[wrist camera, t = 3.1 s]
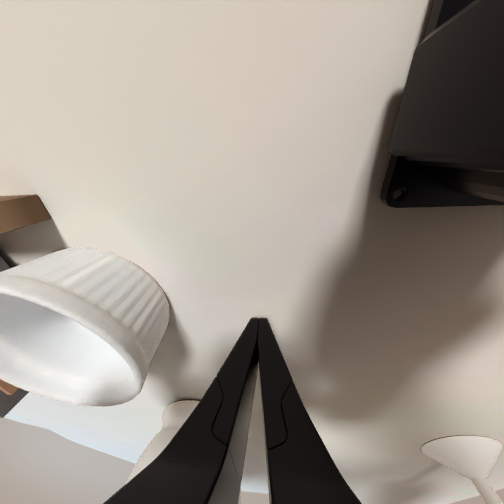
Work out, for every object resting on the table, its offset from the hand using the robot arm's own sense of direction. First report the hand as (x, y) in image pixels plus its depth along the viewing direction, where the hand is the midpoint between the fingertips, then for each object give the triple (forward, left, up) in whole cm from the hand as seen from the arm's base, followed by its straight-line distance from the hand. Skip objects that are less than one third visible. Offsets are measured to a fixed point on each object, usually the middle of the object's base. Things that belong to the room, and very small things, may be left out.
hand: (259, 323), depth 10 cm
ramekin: (+10, 0, -2) cm, 10 cm away
